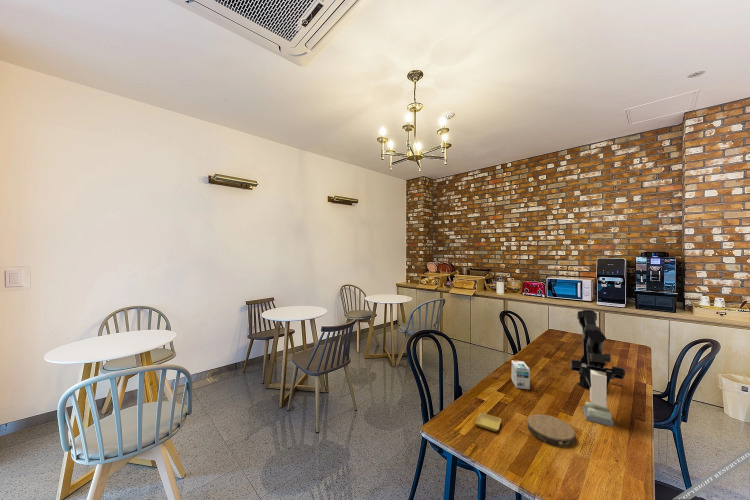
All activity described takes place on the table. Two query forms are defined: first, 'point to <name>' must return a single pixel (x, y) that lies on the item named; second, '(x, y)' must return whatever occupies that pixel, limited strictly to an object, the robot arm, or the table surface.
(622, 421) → the table surface
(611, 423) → the tower base slab
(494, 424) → the yellow flat square tray
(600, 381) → the cream pillar
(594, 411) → the tower top slab
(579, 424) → the table surface
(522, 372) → the light bulb box
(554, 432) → the wood slice
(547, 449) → the table surface
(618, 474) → the table surface
